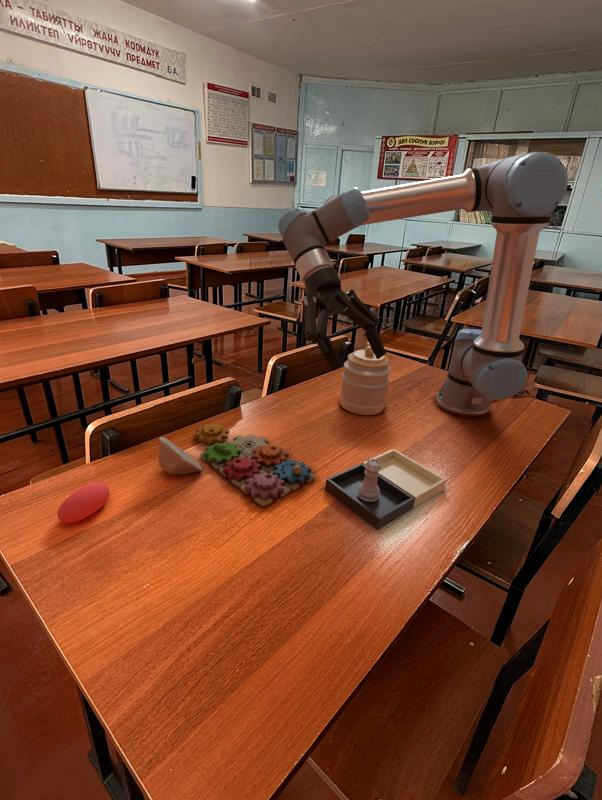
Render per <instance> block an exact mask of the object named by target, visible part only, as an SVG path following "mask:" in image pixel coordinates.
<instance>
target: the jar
mask: <svg viewBox="0 0 602 800" xmlns="http://www.w3.org/2000/svg"><path fill="white" fill-rule="evenodd" d="M389 364H390V359H389V358H388V357H386V356H385V355H384V356H382V357H381V358H379V359H377V358H376V356H375V354H374V352H373V350H372V348H371V346H370V345H369V346H368V345H367V346H366V347H365V348H364V349H357V350H354V351H353V352H351V353H349V354H348V355H347V360H346V361H345V362H343V368H344V372H343V373H342V381H341V391H340V394H339V403H340V406H341V407H342V408H343V409H344V410H346V411H348V412H350V413H353V414H357V415H361V416H372V415H379V414H381V412H383V411H384V409H385V407H386V402H387V393H388V387H389V384H390V378H389V375H390V374H391V373H392V368H391V367H390V365H389Z"/></svg>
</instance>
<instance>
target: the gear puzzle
mask: <svg viewBox="0 0 602 800" xmlns="http://www.w3.org/2000/svg"><path fill="white" fill-rule="evenodd" d="M229 434H230V430H229V429H227V428H225V426H224V425H220V424H216V423H211V424H210V423H207V424H203V425H202V427H197V428H195V433H194V434H193V437H194V438H196V439H198V442H199V443H204V442H206V444H207V445H210V446H206V448H205V451H203V452H201V453H200V459H202V461H203V462H206V463H211V465H210V466H211V468H213V469H214V470H216V471H217V472H219V474H220V475H221V476H223V477H224V478H227V479H231V484H233V485H234V486H235V487H236V488H239V489H240V491H241V492H242V493H243V494H245V495H246V496H249V495H250V497H251V498H253V500H254V502H255V503H256V504H257V505H259V506H260V507H266V506H268V505H270V504H273V502H274V499H273V498H275V499H276V498H278V496H279V497H280V498H283V497H285V496H287V495H289V494H290V492H294V491H296V490H298V489H300V487H301V484H305V483H307V484H309V483H311V482H312V481H314V480H315V479H316V475H315V474H314V473H312V470H313V468H312V467H310V466H309V465H307V464H306V463H305V462H303V461H302V462H297V461H296V460H295V459H291V458H290V453H289V452H288V451H286V450H284V448H283V447H280V446H275V445H274V444H268V443H269V440H268V439H267V438H266V437H264V436H260V438H259V437H258V436H256V435H254V434H251V433H250V434H248V435H246V436H242V435H241V434H240V435H239V434H238V435H236V436H234V437H232V441H229V442H228V441H225V442H223V443H222V441H223V440H228V439H229V436H228V435H229ZM213 443H214V444H213ZM211 444H212V445H211ZM304 482H305V483H304Z"/></svg>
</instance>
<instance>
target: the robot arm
mask: <svg viewBox="0 0 602 800" xmlns="http://www.w3.org/2000/svg"><path fill="white" fill-rule="evenodd" d="M568 184H569V175H568V171H567V167H566V166H565V164H564V163H563V162H562V160H561V159H560V158H559V157H557V155H554V154H552V153H550V152H544V151H543V152H542V151H533V152H532V151H531V152H526V153H521V154H517V155H512V156H511V155H510V156H507V157H504V158H501V159H498V160H495V161H492V162H490V163H486V164H483V165H480V166H476V167H471V168H466V169H465V170H464V171H463V172H462V173H461V174H456V175H451V176H445V177H439V178H434V179H428V180H422V181H416V182H410V183H404V184H399V185H392V186H387V187H381V188H375V189H370V190H365V191H361V190H360V189H359V188H358V187H355V186H354V187H351V188H349V189H347V190H344V191H342V192H341V193H340V194H336V195H331V196H330V197H328V198H327V199H326V200H325V201H324V203H323V204H322V205H320V206H319V207H318V208H316V209H314V210H312V211H310V212H308V211H307V210H306V209H305V208H302V207H295V208H294V209H289V210H287V211H286V212H284V214H282V216H281V217H280V218H279V220H278V223H277V229H278V231H279V233H280V236H281V239H282V242H283V245H284V246H285V248H286V250H287V252H288V254H289V256H290V258H291V260H292V262H293V265H294V266H295V269H296V271H297V273H298V275H299V277H300V279H301V281H302V283H304V288H305V290H306V292H307V295H306V296H305V297H304V299H302V300H301V303H302V306H303V309H304V338H305V340H306V341H307V342H311V343H312V344H313V345H317V347H318V349H319V351H320V353H321V355H322V356H324V357H325V359H326V361H327V363H328V365H329V368H330V370H331V372H334V371H336V370H337V369H339V368H341V366H342V365H343V363H342V361H341V358H340V357H339V354H338V352H337V350H336V348H335V345H334V344H333V342H332V340H331V338H330V336H329V335H327V336H326V332H327V326H328V321H329V317H331V316H333V315H336V316H337V315H341V316H342V317H346V318H348V319H349V320H350V321H351V322H353V323H355V324H356V325H357V326H358V327H360V328H361V329H362V330H364V331H365V332H364V337H365V338H366V340H367V342H368V344H369V346H371V348H372V350H373V352H374V354H375V356H376V358H377V359H379V358H381V357H382V356H385V355H387V354H388V352H387V350H386V348H385V346H384V345H383V342H382V338H381V336H380V334H379V332H378V329H377V326H378V325H379V324H380V323H381V320H380V319H379V318H378V317H377V315H375V314H374V312H372V310H370V308H369V307H368V306H367V305H366V303H364V302H363V301H362V300H361V299H360V298H359V297H358V295H357V294H356V291H355V290H354V289H350V290H349V291H348V292H344V291H343V289H342V279H341V278H340V276H339V274H338V272H337V269H335V268H334V264H333V261H332V260H331V257H330V256H329V254H328V252H327V250H326V248H325V246H326V245H327V244H330V243H331V242H332V241H335V240H336V239H338V238H340V237H341V236H343V235H345V234H347V233H349V232H351V231H352V230H355V229H356V228H359V227H361V226H366V225H373V224H378V223H385V222H391V221H397V220H403V219H409V218H416V217H421V216H422V217H423V216H428V215H434V214H439V213H441V214H442V213H446V212H453V211H459V210H463V211H464V212H466V213H473V212H491V221H490V225H491V226H492V227H493V229H494V230H495V231H496V236H495V242H494V248H493V254H492V260H491V261H492V262H491V268H490V274H489V279H488V288H487V293H486V301H485V306H484V313H483V320H482V325H481V329H477V328H462V329H460V330H458V332H457V334H456V336H455V339H454V345H453V349H452V353H451V357H450V363H449V366H448V371H447V375H446V379H445V380H444V382H443V383H442V385H441V386H440V388H439V390H438V391H437V393H436V395H435V400H434V401H435V404H436V405H437V407H439V408H440V409H441V410H442V411H445V412H447V413H449V414H452V415H455V416H458V417H462V418H463V417H464V418H483V417H486V416H487V415H489V411H490V409H491V400H492V401H503V400H507V399H510V398H512V397H518V396H519V395H518V394H521V395H523V394H525V393H526V394H527V395H530V391H528V390H527V389H523V388H524V386H525V385H526V382H527V379H528V371H527V368H526V365H525V364H523V362H522V360H523V356H524V350H525V344H524V342H523V341H521V339H520V334H521V330H522V325H523V320H524V319H523V318H524V313H525V309H526V304H527V298H528V294H529V289H530V283H531V278H532V273H533V268H534V262H535V258H536V253H537V247H538V243H539V238H540V234H541V231H543V230H544V229H545V228H547V226H549V225H550V222H551V218H552V212H553V210H555V209H556V208H557V207H558V205H560V203H561V202H562V201H563V200H564V198H565V195H566V193H567V191H568V186H569V185H568ZM317 308H318V313H317ZM522 389H523V390H522ZM521 390H522V391H521ZM515 393H518V394H515Z"/></svg>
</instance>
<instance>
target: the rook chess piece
mask: <svg viewBox="0 0 602 800" xmlns="http://www.w3.org/2000/svg"><path fill="white" fill-rule="evenodd" d="M370 459H371V461H370ZM367 460H368V461H367ZM367 460H366V461H367V463H365V465H364V466H365V468H366V470H365V478H364V481H363V482H362V483H361V485H360V486H359V488H358V491H357V495H358V496H359V498H360V499H361V500H363V501H365V502H370V503H371V502H375V501H376V500H378V499H379V497H380V495H379V494H380V490H379V487H378V485H377V478H378V476H379V471H380V470H381V465H380V462H379V461H378V460H376V461H374V459H372V458H368V459H367Z"/></svg>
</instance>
